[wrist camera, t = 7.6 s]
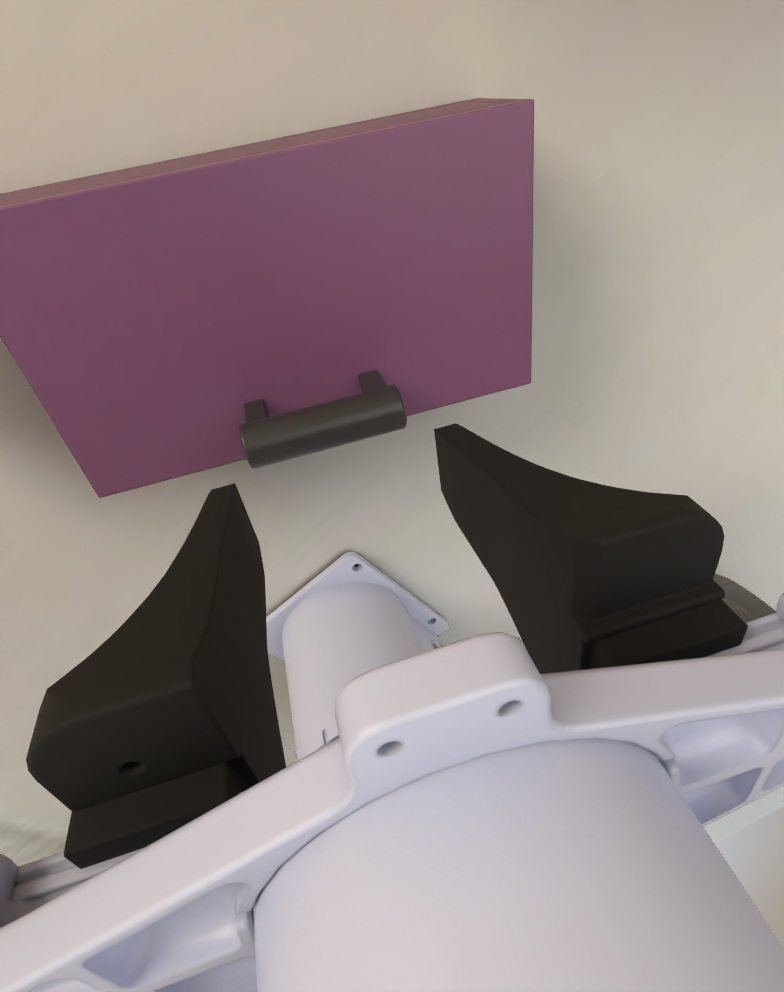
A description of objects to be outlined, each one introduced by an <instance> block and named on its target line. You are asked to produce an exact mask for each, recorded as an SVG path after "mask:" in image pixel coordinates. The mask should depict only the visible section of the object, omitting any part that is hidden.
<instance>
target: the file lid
mask: <svg viewBox="0 0 784 992" xmlns="http://www.w3.org/2000/svg"><path fill="white" fill-rule="evenodd" d="M533 151H534V100H533V99H523V100H518V101H513V102H508V103H503V104H498V105H493V106H488V107H483V108H478V109H473V110H469V111H464V112H459V113H454V114H449V115H444V116H439V117H434V118H429V119H424V120H419V121H414V122H410V123H405V124H400V125H395V126H390V127H385V128H380V129H375V130H370V131H365V132H360V133H356V134H351V135H346V136H341V137H336V138H331V139H326V140H321V141H316V142H311V143H306V144H302V145H297V146H292V147H287V148H282V149H277V150H272V151H267V152H262V153H257V154H252V155H248V156H243V157H238V158H233V159H228V160H223V161H218V162H213V163H208V164H203V165H198V166H194V167H189V168H184V169H179V170H174V171H169V172H164V173H159V174H154V175H149V176H144V177H139V178H135V179H130V180H125V181H120V182H115V183H110V184H105V185H100V186H95V187H90V188H85V189H81V190H76V191H71V192H66V193H61V194H56V195H51V196H46V197H41V198H36V199H31V200H27V201H22V202H17V203H12V204H7V205H2V206H0V337H1V338H2V340H3V341H4V343H5V345H6V346H7V348H8V350H9V351H10V353H11V355H12V356H13V358H14V359H15V361H16V363H17V364H18V366H19V368H20V369H21V371H22V373H23V374H24V376H25V377H26V379H27V381H28V382H29V384H30V386H31V387H32V389H33V391H34V392H35V394H36V395H37V397H38V399H39V400H40V402H41V404H42V405H43V407H44V409H45V410H46V412H47V413H48V415H49V417H50V418H51V420H52V422H53V423H54V425H55V427H56V428H57V430H58V431H59V433H60V435H61V436H62V438H63V440H64V441H65V443H66V445H67V446H68V448H69V449H70V451H71V453H72V454H73V456H74V458H75V459H76V461H77V463H78V464H79V466H80V467H81V469H82V471H83V472H84V474H85V476H86V477H87V479H88V481H89V482H90V484H91V485H92V487H93V489H94V490H95V492H96V494H97V495H98V497H99V498H101V497H105V496H109V495H112V494H116V493H120V492H124V491H127V490H131V489H135V488H139V487H142V486H146V485H150V484H154V483H157V482H161V481H165V480H169V479H172V478H176V477H180V476H184V475H187V474H191V473H195V472H199V471H202V470H206V469H210V468H214V467H217V466H221V465H225V464H229V463H232V462H236V461H240V460H244V459H247V461H248V463H249V465H250V466H251V468H258V467H262V466H266V465H270V464H273V463H277V462H281V461H284V460H288V459H292V458H296V457H299V456H303V455H307V454H311V453H314V452H318V451H322V450H325V449H329V448H333V447H337V446H340V445H344V444H348V443H351V442H355V441H359V440H363V439H366V438H370V437H374V436H377V435H381V434H385V433H389V432H392V431H396V430H400V429H403V428H405V427H406V423H407V419H406V416H409V415H412V414H416V413H420V412H424V411H427V410H431V409H435V408H439V407H443V406H446V405H450V404H454V403H458V402H461V401H465V400H469V399H473V398H476V397H480V396H484V395H488V394H491V393H495V392H499V391H503V390H506V389H510V388H514V387H518V386H521V385H525V384H529V383H531V343H532V247H533Z"/></svg>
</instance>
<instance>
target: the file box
mask: <svg viewBox="0 0 784 992" xmlns="http://www.w3.org/2000/svg"><path fill="white" fill-rule="evenodd" d="M518 100H522V99H487V98H475V99H471V100H466V101H461V102H456V103H451V104H446V105H441V106H436V107H431V108H426V109H421V110H416V111H411V112H406V113H401V114H396V115H391V116H386V117H381V118H376V119H371V120H366V121H361V122H356V123H351V124H346V125H341V126H336V127H331V128H326V129H322V130H317V131H312V132H307V133H302V134H297V135H292V136H287V137H282V138H277V139H272V140H267V141H262V142H257V143H252V144H247V145H242V146H237V147H232V148H227V149H222V150H217V151H212V152H207V153H202V154H197V155H192V156H187V157H182V158H177V159H172V160H168V161H163V162H158V163H153V164H148V165H143V166H138V167H133V168H128V169H123V170H118V171H113V172H108V173H103V174H98V175H93V176H88V177H83V178H78V179H73V180H68V181H63V182H58V183H53V184H48V185H43V186H38V187H33V188H28V189H23V190H19V191H14V192H9V193H4V194H0V206H2V205H7V204H12V203H17V202H22V201H27V200H31V199H36V198H41V197H46V196H51V195H56V194H61V193H66V192H71V191H76V190H81V189H85V188H90V187H95V186H100V185H105V184H110V183H115V182H120V181H125V180H130V179H135V178H139V177H144V176H149V175H154V174H159V173H164V172H169V171H174V170H179V169H184V168H189V167H194V166H198V165H203V164H208V163H213V162H218V161H223V160H228V159H233V158H238V157H243V156H248V155H252V154H257V153H262V152H267V151H272V150H277V149H282V148H287V147H292V146H297V145H302V144H306V143H311V142H316V141H321V140H326V139H331V138H336V137H341V136H346V135H351V134H356V133H360V132H365V131H370V130H375V129H380V128H385V127H390V126H395V125H400V124H405V123H410V122H414V121H419V120H424V119H429V118H434V117H439V116H444V115H449V114H454V113H459V112H464V111H469V110H473V109H478V108H483V107H488V106H493V105H498V104H503V103H508V102H513V101H518Z"/></svg>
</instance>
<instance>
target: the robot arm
mask: <svg viewBox="0 0 784 992" xmlns="http://www.w3.org/2000/svg"><path fill="white" fill-rule="evenodd" d="M434 432H435V440H436V449H437V457H438V466H439V474H440V483H441V490H442V493H443V495H444V497H445V500H446V502H447V504H448V506H449V509H450V511H451V513H452V515H453V517H454V519H455V521H456V522H457V524H458V526H459V527H460V529H461V531H462V532H463V534H464V535H465V537H466V539H467V540H468V542H469V543H470V545H471V546H472V548H473V550H474V551H475V553H476V554H477V556H478V557H479V559H480V560H481V562H482V564H483V565H484V567H485V568H486V570H487V571H488V573H489V575H490V576H491V578H492V580H493V581H494V583H495V585H496V587H497V588H498V590H499V592H500V594H501V596H502V598H503V600H504V603H505V605H506V607H507V609H508V611H509V613H510V615H511V617H512V619H513V621H514V623H515V626H516V628H517V630H518V632H519V634H520V636H521V639H522V641H523V643H524V645H525V647H526V648H525V647H524V645H523V643H522V641H521V640H520V638H517V637H514V636H511V635H508V634H505V633H501V632H497V633H490V634H483V635H477V636H474V637H471V638H467V639H464V640H461V641H458V642H455V643H452V644H449V645H445V646H442V645H441V643H440V641H439V638H438V636H439V635H441V634H442V633H443V632H445V631H446V630H447V628H448V623H447V621H446V619H445V618H443V617H442V616H440V615H439V614H438V613H436V612H435V611H434V610H432V609H431V608H430V607H428V606H427V605H426V604H424V603H423V602H422V601H420V600H419V599H418V598H416V597H415V596H414V595H412V594H411V593H409V592H408V591H407V590H405V589H404V588H403V587H401V586H400V585H399V584H397V583H396V582H395V581H393V580H392V579H391V578H389V577H388V576H387V575H385V574H384V573H383V572H381V571H380V570H378V569H377V568H376V567H374V566H373V565H372V564H370V563H369V562H368V561H366V560H365V559H364V558H362V557H361V556H360V555H358V554H357V553H355V552H347V553H345V554H343V555H342V556H341V557H340V558H338V559H337V560H336V561H335V562H334V563H332V564H331V565H330V566H329V567H327V568H326V569H325V570H324V571H323V572H321V573H320V574H319V575H318V576H316V577H315V578H314V579H313V580H311V581H310V582H309V583H308V584H307V585H305V586H304V587H303V588H302V589H300V590H299V591H298V592H297V593H296V594H294V595H293V596H292V597H291V598H289V599H288V600H287V601H286V602H285V603H283V604H282V605H281V606H280V607H278V608H277V609H276V610H275V611H273V612H272V613H271V614H270V615H269V616H267V617H266V598H265V575H264V569H263V563H262V557H261V551H260V546H259V541H258V539H257V536H256V534H255V532H254V529H253V527H252V524H251V522H250V519H249V517H248V514H247V512H246V509H245V507H244V504H243V502H242V499H241V497H240V494H239V492H238V490H237V487H236V485H235V484H231V485H227V486H223V487H220V488H216V489H212V490H211V491H210V493H209V494H208V496H207V499H206V501H205V503H204V505H203V507H202V509H201V511H200V513H199V515H198V517H197V519H196V522H195V524H194V526H193V527H192V529H191V531H190V533H189V535H188V537H187V539H186V541H185V542H184V544H183V546H182V548H181V549H180V551H179V553H178V554H177V556H176V558H175V559H174V561H173V562H172V564H171V566H170V567H169V569H168V570H167V572H166V573H165V575H164V576H163V578H162V579H161V580H160V582H159V583H158V584H157V586H156V587H155V588H154V589H153V591H152V592H151V593H150V595H149V596H148V597H147V598H146V599H145V601H144V602H143V603H142V604H141V605H140V606H139V607H138V608H137V609H136V611H135V612H134V613H133V614H132V615H131V616H130V617H129V618H128V619H127V620H126V622H125V623H124V624H123V625H122V626H121V627H120V628H119V629H118V630H117V631H116V632H115V633H114V634H113V635H112V636H111V637H110V638H109V639H107V640H106V641H105V642H104V643H103V644H102V645H101V646H100V647H99V648H98V649H96V650H95V651H94V652H93V653H92V654H91V655H90V656H88V657H87V658H86V659H85V660H84V661H83V662H81V663H80V664H79V665H77V666H76V667H75V668H74V669H72V670H71V671H70V672H69V673H67V674H66V675H65V676H64V677H62V678H61V679H60V680H58V681H57V682H56V683H55V684H53V685H52V686H51V687H49V688H48V689H47V691H46V693H45V696H44V699H43V702H42V704H41V707H40V710H39V713H38V717H37V721H36V725H35V728H34V732H33V736H32V739H31V743H30V747H29V750H28V754H27V758H26V761H27V766H28V771H29V772H30V773H31V775H32V776H33V777H34V778H35V780H36V781H37V782H38V783H40V784H41V785H42V786H43V787H44V788H45V789H47V790H48V791H49V792H50V793H51V794H52V795H54V796H55V797H56V798H57V799H58V800H59V801H61V802H62V803H63V804H64V805H65V806H66V807H68V808H69V809H70V810H71V811H72V814H71V819H70V824H69V829H68V835H67V840H66V845H65V850H64V852H61V853H58V854H55V855H52V856H49V857H46V858H43V859H40V860H37V861H34V862H31V863H28V864H25V865H22V866H19V867H18V866H17V865H16V864H15V863H14V862H13V861H12V860H11V859H9V858H8V857H6V856H5V855H2V854H0V992H784V947H783V946H782V944H781V943H780V941H779V940H778V938H777V937H776V935H775V934H774V932H773V931H772V929H771V928H770V926H769V925H768V923H767V922H766V920H765V919H764V917H763V916H762V914H761V913H760V911H759V910H758V908H757V907H756V905H755V904H754V902H753V901H752V899H751V898H750V896H749V895H748V893H747V892H746V890H745V889H744V887H743V886H742V884H741V883H740V881H739V880H738V878H737V877H736V875H735V874H734V872H733V871H732V869H731V868H730V866H729V865H728V863H727V862H726V860H725V859H724V857H723V856H722V854H721V853H720V851H719V850H718V848H717V847H716V845H715V844H714V842H713V841H712V839H711V838H710V836H709V835H708V833H707V832H706V830H705V829H704V827H703V826H705V825H707V824H709V823H711V822H713V821H715V820H717V819H719V818H721V817H723V816H725V815H727V814H729V813H731V812H733V811H735V810H737V809H739V808H741V807H743V806H745V805H747V804H749V803H751V802H753V801H755V800H757V799H758V798H760V797H762V796H764V795H766V794H768V793H770V792H772V791H774V790H776V789H778V788H780V787H782V786H784V593H783V594H782V596H781V597H780V599H779V602H778V605H777V609H776V613H774V614H771V615H768V616H765V617H762V618H759V619H756V620H753V621H750V622H747V623H745V622H744V621H743V620H742V619H741V618H740V617H739V616H738V615H737V614H736V613H735V612H734V611H733V610H732V609H731V608H730V607H729V606H728V605H727V604H726V603H725V602H724V601H723V600H722V599H723V598H724V596H725V592H724V590H723V589H722V588H721V587H720V586H719V585H718V584H717V583H716V582H715V581H714V580H713V578H714V575H715V572H716V568H717V565H718V562H719V558H720V555H721V552H722V547H723V541H724V533H723V529H722V526H721V525H720V524H719V523H718V521H717V520H716V519H715V518H714V517H712V516H711V515H710V514H709V513H708V512H706V511H705V510H704V509H703V508H702V507H701V506H699V505H698V504H697V503H696V502H695V501H693V500H692V499H691V498H689V497H688V496H685V495H673V494H661V493H649V492H641V491H634V490H628V489H621V488H616V487H610V486H605V485H601V484H597V483H593V482H588V481H584V480H580V479H577V478H573V477H570V476H567V475H564V474H561V473H558V472H555V471H552V470H549V469H546V468H544V467H541V466H539V465H536V464H534V463H532V462H529V461H527V460H525V459H522V458H520V457H518V456H516V455H514V454H512V453H510V452H508V451H506V450H504V449H502V448H500V447H498V446H496V445H494V444H492V443H490V442H489V441H487V440H485V439H483V438H481V437H480V436H478V435H476V434H474V433H472V432H471V431H469V430H467V429H465V428H464V427H462V426H460V425H458V424H452V425H449V426H445V427H441V428H438V429H434ZM356 564H359V565H358V566H355V567H354V565H356ZM526 649H527V650H526ZM268 653H269V654H271V655H273V656H274V657H276V658H278V659H280V660H282V661H284V662H285V667H286V675H287V683H288V691H289V699H290V707H291V714H292V722H293V730H294V738H295V746H296V753H297V761H296V762H295V763H293V764H291V765H289V766H288V767H286V764H285V759H284V753H283V747H282V742H281V736H280V731H279V725H278V719H277V713H276V706H275V700H274V694H273V688H272V681H271V674H270V668H269V661H268Z"/></svg>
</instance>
